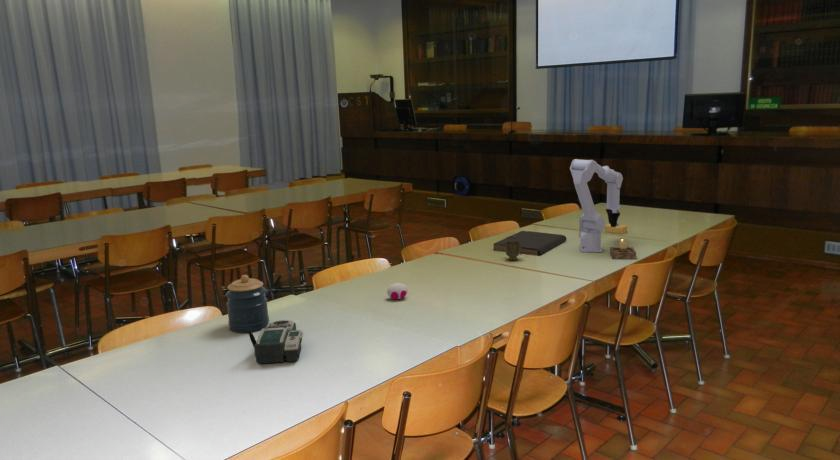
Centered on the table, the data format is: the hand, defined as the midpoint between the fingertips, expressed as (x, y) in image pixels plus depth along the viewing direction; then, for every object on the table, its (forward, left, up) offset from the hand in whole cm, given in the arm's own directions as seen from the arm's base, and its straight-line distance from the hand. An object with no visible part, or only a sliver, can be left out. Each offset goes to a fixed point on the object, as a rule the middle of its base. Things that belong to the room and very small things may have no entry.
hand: (612, 225), depth 298 cm
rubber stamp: (+5, +28, -10) cm, 30 cm away
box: (+2, -23, -9) cm, 25 cm away
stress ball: (-86, -90, -10) cm, 125 cm away
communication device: (-112, -137, -10) cm, 177 cm away
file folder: (-39, -4, -10) cm, 40 cm away
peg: (+2, -23, -9) cm, 25 cm away
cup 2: (-10, +16, -10) cm, 21 cm away
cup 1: (-46, -31, -10) cm, 56 cm away
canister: (-129, -122, -10) cm, 178 cm away
